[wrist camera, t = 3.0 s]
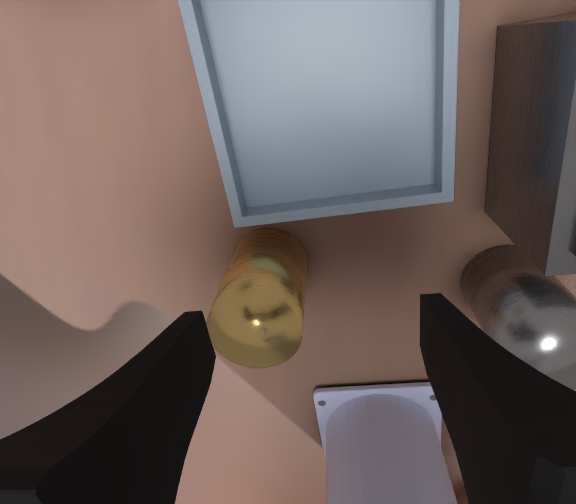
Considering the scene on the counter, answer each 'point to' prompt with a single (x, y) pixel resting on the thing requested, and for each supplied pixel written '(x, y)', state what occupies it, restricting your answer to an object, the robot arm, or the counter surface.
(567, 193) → the unit
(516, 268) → the part grey
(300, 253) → the part brass
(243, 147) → the tray
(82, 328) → the counter surface
